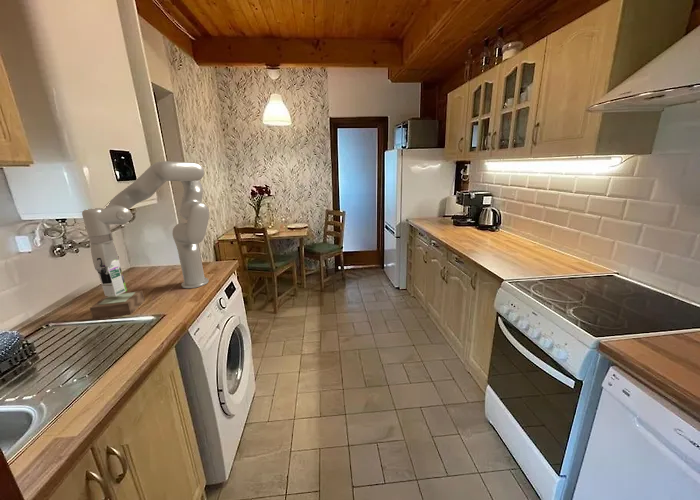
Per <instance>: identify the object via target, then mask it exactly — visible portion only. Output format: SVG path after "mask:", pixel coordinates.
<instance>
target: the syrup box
mask: <svg viewBox="0 0 700 500" xmlns="http://www.w3.org/2000/svg"><path fill="white" fill-rule="evenodd" d="M102 267H105V265H103V266H102ZM103 270H105V269H103ZM122 270H123V269H122V267H121V263H120V259H119V260H114V261H112V263H111V266H110V267H108V274H110V277H111V280H112V283H108V284H103V283H102V279H101V276H100V275H99V273H98V272H97V274H98V277H99V281H100V283H101V287H102V290H103V291H102V292H103V293H104V297H105V296H117V295H119V294H122V293H124V292H128V288H127V286H126V285H127V284H126V281H125V278H124V275H123V271H122Z"/></svg>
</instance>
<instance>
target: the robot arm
mask: <svg viewBox="0 0 700 500" xmlns="http://www.w3.org/2000/svg"><path fill="white" fill-rule="evenodd" d="M204 175H205V170H204V167H203V166H202V165H201V164H199V163H198V162H195V161H193V162H192V161H191V162H190V161H189V162H188V161H172V160H171V161H169V160H163V161H156V162H153V164H151V165H150V166H149V167H148V168H147V169H146V170H145V171H144V172H143V173H141V175H139V177H138V178H137V179H135V180H134V181H133V182H132V183H130V184H129V185H128V186H127V187H125V188H124V189H123V190H121V191H120V192H118V194H116V195H115V196H114V197H113V198H112V199H110V201H109V202H110V203H109V202H108V203H109V205H108V206H106V205H105V206H106V208H105V209H103V208H104V207H103V208H101V207H94V208H95V209H92V208H87V209H88V210H86V209H84V210H82V211H81V215H82V219H83V222H84V226H85V230H86V232H87V237H88V240H89V243H90V253H91V258H92V264H93V266H94V269H95V271H96V272H97V274H98V273H99V274H98V276H99V275H100V276H101V279H102V283H103V284H108V283H112V280H111V277H110V274H108V267H110V266H111V263H112V261H114V260H119V261H120V257H119V255H118V251H117V249H116V245H115V243H114V238H113V235H112V230H111V227H110V225H123V224H126V223H128V222H130V221H131V219H132V212H131V211H130V209H131V208H133V207H134V206H135V205H137V204H139V203H141V202H143V201H147V200H148V199H150V198H151V197H153V196H154V195H155V194H156V193H157V191H158V190H159V189H160V188H161V187H162V186H164V184H165V183H167V182H180V183H181V185H182V187H183V192H182V199H181V203H180V208H179V215H180V216H181V217H180V218H182V219H184V220H186V222H179V223H177V224H175V226H173V228H172V237H173V238H172V239H173V240H174V243H175V246H176V249H177V254H178V258H179V263H180V268H181V272H182V277H183V282H182V283H181V284H180V285H181V288H183V289H196V288H199V287H203V286H205V285H207V284H208V283H209V278H208V277H205V272H204V268H203V267H204V266H203V262H202V256H201V252H200V251H201V250H200V248H199V247H200V246H199V244H200V243H202V242H203V240H204V239H205V236H206V233H207V229H208V225H209V219H210V210H209V207H208V206H207V204H206V203H204V202H202V200H203V193H204V189H203V184H202V183H201V180H202V179H203V178H204ZM103 265H105V267H102V266H103ZM103 269H105V270H103Z"/></svg>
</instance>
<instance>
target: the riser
mask: <svg viewBox="0 0 700 500" xmlns="http://www.w3.org/2000/svg"><path fill="white" fill-rule="evenodd" d="M144 302H145V296H144V293H143V290H136V291H126V292H124V293H122V294H119V295H117V296H105V295H104V297H102V298H101V299H100V300H98V301H97V302H95V304H93V305H92V306H91V307H89V310H90V313H91V316H92V319H93V320H97V319H106V318H111V317H112V318H113V317H123V316H129V315H132V314H133V313H134V312H135V311H136V310H137V309H138V308H139V307H140V306H141V305H142V304H143V303H144Z"/></svg>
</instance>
